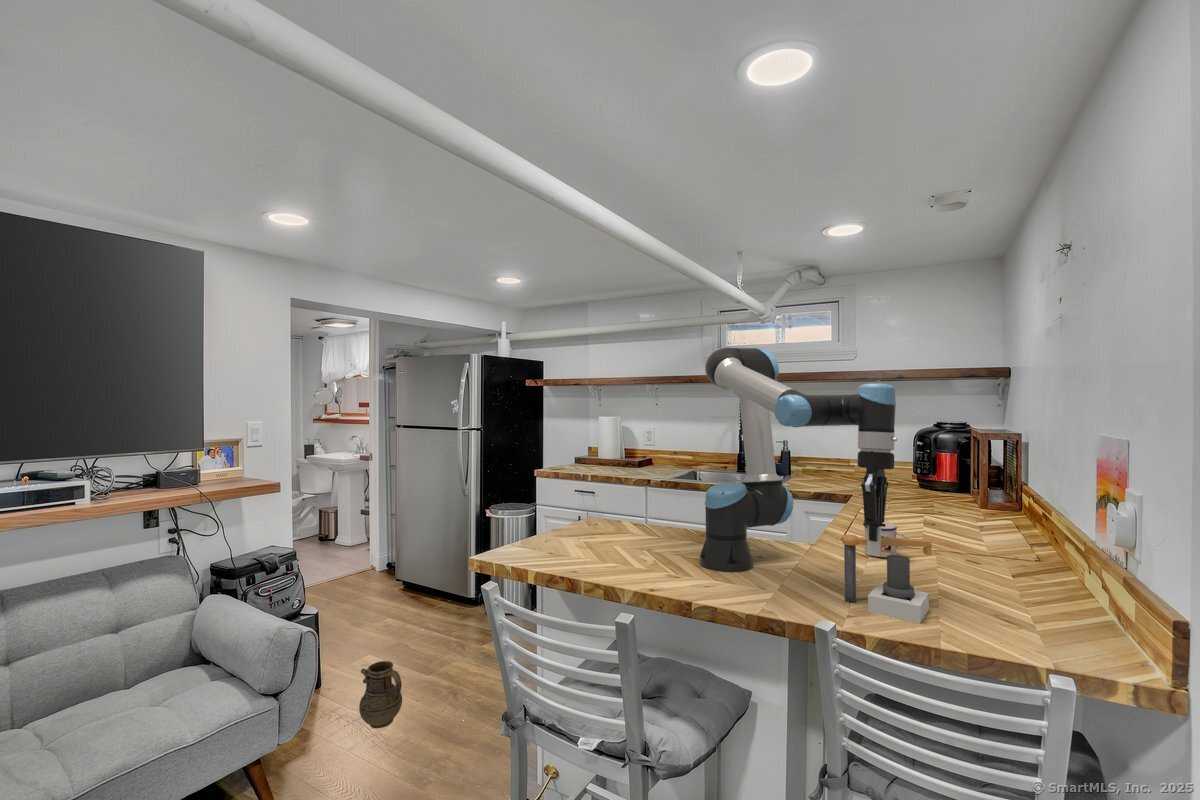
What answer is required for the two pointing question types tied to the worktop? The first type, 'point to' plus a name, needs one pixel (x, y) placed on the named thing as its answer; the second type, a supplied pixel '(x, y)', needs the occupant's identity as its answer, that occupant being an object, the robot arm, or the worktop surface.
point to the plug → (898, 578)
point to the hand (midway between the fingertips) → (873, 555)
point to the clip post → (850, 573)
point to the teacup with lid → (887, 532)
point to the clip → (890, 542)
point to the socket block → (899, 605)
